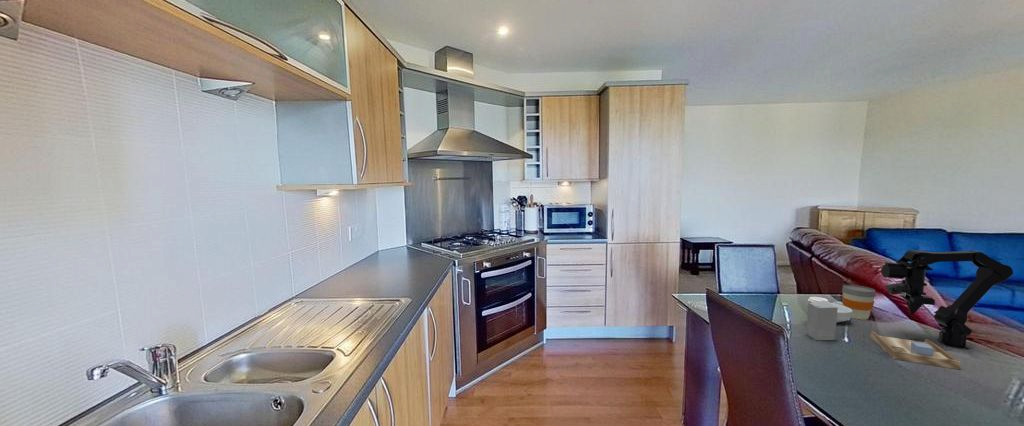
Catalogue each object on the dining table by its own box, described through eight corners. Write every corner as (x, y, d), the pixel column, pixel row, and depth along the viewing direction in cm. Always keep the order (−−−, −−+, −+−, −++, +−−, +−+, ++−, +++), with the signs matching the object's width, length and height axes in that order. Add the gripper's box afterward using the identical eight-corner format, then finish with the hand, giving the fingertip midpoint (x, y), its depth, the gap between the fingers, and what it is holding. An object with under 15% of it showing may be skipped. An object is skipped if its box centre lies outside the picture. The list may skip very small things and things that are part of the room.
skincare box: (824, 334, 163) (826, 301, 162) (836, 341, 156) (839, 307, 155) (804, 334, 164) (806, 301, 163) (816, 341, 157) (818, 306, 156)
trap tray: (927, 345, 151) (928, 339, 151) (959, 369, 133) (960, 361, 132) (870, 337, 160) (871, 331, 160) (893, 358, 141) (893, 351, 141)
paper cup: (831, 330, 168) (833, 301, 167) (815, 330, 168) (817, 301, 167) (817, 323, 176) (819, 296, 175) (802, 323, 176) (803, 296, 175)
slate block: (926, 354, 141) (927, 343, 140) (932, 359, 137) (933, 348, 136) (910, 352, 143) (911, 341, 142) (916, 357, 139) (917, 346, 138)
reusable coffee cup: (869, 314, 187) (871, 286, 185) (877, 322, 176) (879, 293, 175) (837, 310, 193) (839, 283, 192) (843, 317, 183) (845, 289, 181)
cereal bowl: (860, 327, 171) (861, 313, 170) (820, 325, 174) (821, 311, 174) (836, 314, 187) (837, 301, 187) (800, 312, 191) (801, 299, 190)
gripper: (879, 272, 167) (877, 304, 168) (899, 282, 150) (896, 318, 152) (913, 274, 161) (910, 308, 163) (937, 285, 145) (934, 322, 146)
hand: (911, 313), depth 156 cm, fingers closed
